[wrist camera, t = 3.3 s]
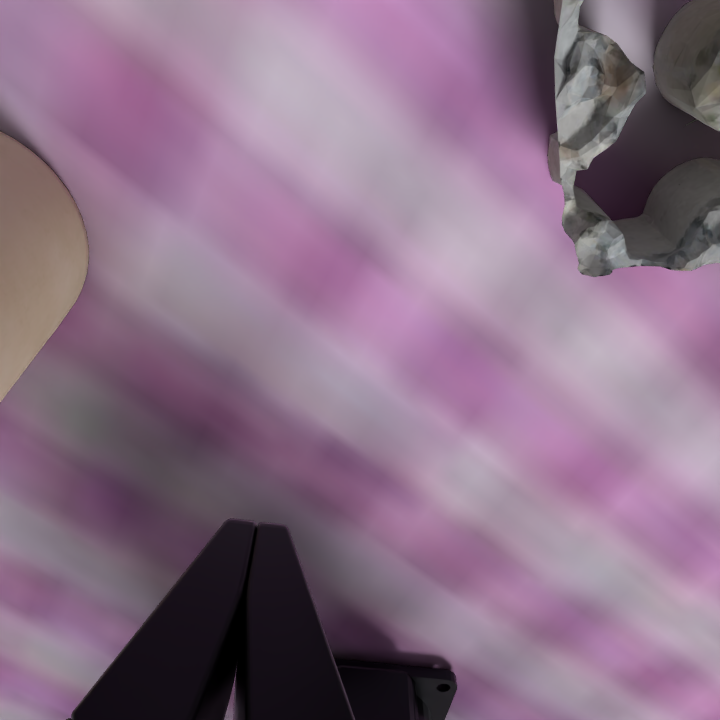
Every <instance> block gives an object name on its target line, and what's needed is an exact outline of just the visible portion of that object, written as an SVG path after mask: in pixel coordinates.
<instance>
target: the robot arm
mask: <svg viewBox="0 0 720 720" xmlns="http://www.w3.org/2000/svg"><path fill="white" fill-rule="evenodd" d="M236 668H237V671H236ZM235 673H236V680H235V693H234V714H233V720H445V718H446V715H447V713H448V710H449V707H450V705H451V702H452V700H453V697H454V695H455V692H456V690H457V682H456V676H455V674H454V673H453V672H451V671H449V670H443V669H433V668H423V667H412V666H402V665H392V664H381V663H371V662H361V661H350V660H340V659H334V658H333V655H332V652H331V649H330V646H329V643H328V640H327V638H326V635H325V632H324V629H323V626H322V623H321V620H320V617H319V615H318V612H317V609H316V606H315V603H314V600H313V597H312V594H311V592H310V589H309V586H308V583H307V580H306V577H305V574H304V571H303V569H302V566H301V563H300V560H299V557H298V554H297V551H296V548H295V546H294V543H293V540H292V537H291V534H290V531H289V529H288V527H287V526H286V525H283V524H276V523H267V522H261V523H259V524H258V526H257V525H256V523H255V522H254V521H250V520H241V519H228V520H227V521H225V522H224V524H223V525H222V526H221V527H220V528H219V530H218V531H217V532H216V533H215V535H214V536H213V537H212V538H211V540H210V541H209V542H208V543H207V545H206V546H205V547H204V548H203V550H202V551H201V552H200V553H199V555H198V556H197V557H196V558H195V560H194V561H193V562H192V563H191V565H190V566H189V567H188V568H187V570H186V571H185V572H184V573H183V575H182V576H181V577H180V578H179V580H178V581H177V582H176V583H175V585H174V586H173V587H172V588H171V590H170V591H169V592H168V593H167V595H166V596H165V597H164V598H163V600H162V601H161V602H160V603H159V605H158V606H157V607H156V608H155V610H154V611H153V612H152V613H151V615H150V616H149V617H148V618H147V620H146V621H145V622H144V623H143V625H142V626H141V627H140V628H139V630H138V631H137V632H136V633H135V635H134V636H133V637H132V638H131V640H130V641H129V642H128V643H127V645H126V646H125V647H124V648H123V650H122V651H121V652H120V653H119V655H118V656H117V657H116V658H115V660H114V661H113V662H112V663H111V665H110V666H109V667H108V668H107V670H106V671H105V672H104V673H103V675H102V676H101V677H100V678H99V680H98V681H97V682H96V683H95V685H94V686H93V687H92V688H91V690H90V691H89V692H88V693H87V695H86V696H85V697H84V698H83V700H82V701H81V702H80V703H79V705H78V706H77V707H76V708H75V710H74V711H73V712H72V715H71V716H72V719H71V718H68V719H66V720H224V717H225V714H226V710H227V706H228V703H229V699H230V695H231V691H232V687H233V683H234V678H235Z"/></svg>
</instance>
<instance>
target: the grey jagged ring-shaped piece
mask: <svg viewBox="0 0 720 720" xmlns="http://www.w3.org/2000/svg"><path fill="white" fill-rule="evenodd" d="M553 1H554V16H555V18H556V21H557V23H558V24H559V29H558V35H557V42H556V49H555V56H554V68H555V102H556V116H557V130H558V132H555V133H553V134H551V135H550V139H549V149H548V155H547V156H548V166H549V171H550V175H551V178H552V180H553V181H554V182H556V183H558V184H560V185H562V187H563V191H564V198H565V207H564V211H563V215H562V226H563V228H564V231H565V232H566V234H567V235H568V236H569V237H570V238H571V239H572V240H573V242H574V244H575V249H576V254H577V258H578V261H579V265H578V270H579V271H580V273H582V274H583V275H588V276H592V277H598V276H605V275H610V274H611V273H612V270H613V269H616V268H623V267H634V266H661V267H664V268H667V269H670V270H676V271H692V270H694V269H697V268H699V267H701V266H703V265H707V264H713V263H720V160H717V159H712V158H698V159H692V160H690V161H687V162H685V163H683V164H680V165H678V166H677V167H675V168H674V169H672V170H671V171H670V172H668V173H667V174H666V175H664V176H663V177H662V178H661V179H660V180H659V182H658V183H657V184H656V185H655V186H654V188H653V189H652V191H651V193H650V195H649V197H648V199H647V202H646V205H645V208H644V211H643V214H641V215H640V216H638V217H635V218H625V219H620V220H616V221H612V220H611V219H610V218H609V217H608V216H607V215H606V214H605V212H604V211H603V210H602V209H601V208H600V207H599V206H598V205H597V204H596V203H595V202H594V201H593V200H592V199H591V198H590V196H589V195H588V194H587V193H586V192H585V191H584V190H583V189H581V188H579V187H577V186H575V185H574V181H575V176H576V171H577V170H587V169H588V167H589V166H590V164H591V162H592V160H593V158H594V157H595V156H597V155H598V154H600V153H601V152H603V151H604V150H605V149H607V148H608V147H609V146H611V145H612V144H613V143H615V142H616V140H617V139H618V137H619V135H620V133H621V131H622V129H623V127H624V125H625V122H626V120H627V118H628V116H629V115H630V113H631V111H632V109H633V107H634V106H635V104H636V103H637V102H638V101H639V100H640V99H641V98H642V97H643V96H644V95H645V94H646V85H645V75H644V72H643V71H642V70H640V69H639V68H638V67H636V66H635V65H634V64H632V63H631V62H630V61H629V59H628V58H627V57H626V55H625V54H624V52H623V51H622V50H621V48H620V47H619V46H618V44H617V43H616V42H614V41H613V40H612V39H610V38H609V37H608V36H606V35H603V34H601V33H598V32H595V31H593V30H590V29H588V28H585V27H583V26H580V25H578V18H579V11H580V6H581V4H582V2H583V1H584V0H553ZM653 71H654V76H655V81H656V86H657V87H658V89H659V91H660V92H661V94H662V96H663V98H664V99H666V100H667V101H668V102H669V103H670V104H672V105H673V106H675V107H677V108H679V109H681V110H682V111H684V112H686V113H688V114H689V115H691V116H693V117H694V118H696V119H695V120H694V121H696V120H699V121H701V122H702V123H704V124H706V125H707V126H709V127H711V128H713V129H715V130H717V131H720V0H692V1H690V2H688V3H687V4H685V5H684V6H683V7H682V8H681V9H680V10H679V11H678V12H677V13H676V14H675V15H674V17H673V18H672V19H671V20H670V22H669V23H668V25H667V27H666V28H665V30H664V32H663V33H662V36H661V38H660V40H659V42H658V44H657V46H656V50H655V55H654V65H653ZM694 121H692V122H694ZM692 122H690V123H692ZM690 123H689V124H690ZM687 125H688V124H687ZM685 126H686V125H685Z"/></svg>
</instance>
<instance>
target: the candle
mask: <svg viewBox="0 0 720 720" xmlns="http://www.w3.org/2000/svg"><path fill="white" fill-rule="evenodd" d="M88 263H89V245H88V239H87V233H86V229H85V226H84V223H83V220H82V217H81V215H80V212H79V210H78V208H77V206H76V203H75V202H74V200H73V198H72V197H71V195H70V193H69V192H68V190H67V188H66V187H65V186H64V184H63V183H62V182H61V180H60V179H59V178H58V176H57V175H56V174H55V173H54V172H53V171H52V170H51V169H50V168H49V167H48V165H47V164H46V163H45V162H44V161H42V160H41V159H40V158H39V157H38V156H37V155H36V154H34V153H33V152H32V151H31V150H29V149H28V148H27V147H25V146H24V145H22V144H21V143H20V142H18V141H17V140H15V139H13V138H12V137H10V136H8V135H6V134H4V133H3V132H1V131H0V402H1V401H2V400H3V398H4V397H5V396H6V394H7V393H8V392H9V390H10V389H11V388H12V387H13V385H14V384H15V383H16V381H17V380H18V379H19V377H20V376H21V375H22V373H23V372H24V371H25V369H26V368H27V367H28V366H29V364H30V363H31V362H32V360H33V359H34V358H35V356H36V355H37V354H38V352H39V351H40V350H41V349H42V347H43V346H44V345H45V343H46V342H47V341H48V339H49V338H50V337H51V335H52V334H53V333H54V331H55V330H56V329H57V328H58V326H59V325H60V323H61V322H62V321H63V319H64V318H65V316H66V315H67V314H68V312H69V311H70V309H71V308H72V306H73V305H74V304H75V302H76V301H77V299H78V296H79V294H80V292H81V290H82V287H83V285H84V282H85V278H86V275H87V271H88Z"/></svg>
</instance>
